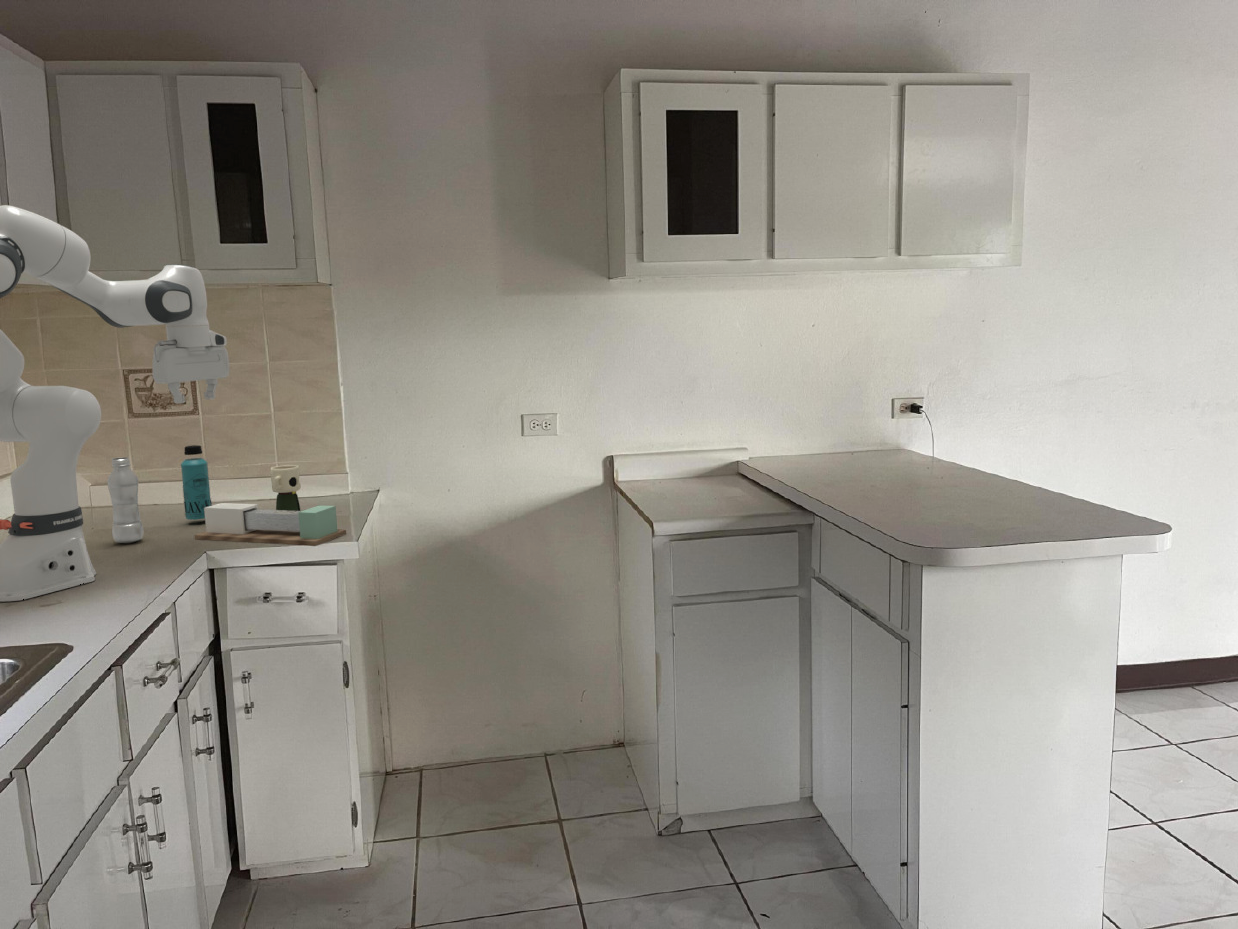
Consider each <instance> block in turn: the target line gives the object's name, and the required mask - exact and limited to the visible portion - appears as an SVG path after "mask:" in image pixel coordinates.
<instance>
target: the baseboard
mask: <svg viewBox="0 0 1238 929" xmlns="http://www.w3.org/2000/svg"><path fill="white" fill-rule="evenodd" d="M346 534H347V529H342V528H341V529H338V528H337V532H334V533H332V534H329V535H327V536H324V537H321V538H319V539H305V538H300V532H293V531H273V530H255V531H252V532H249V533H246V534H229V533H209V532H206V531H203V532H200V533H196V534H194V535H193V536H194V540H203V541H204V540H207V541H222V542H240V543H241V542H242V543H243V542H244V543H257V544H258V543H261V544H262V543H263V544H275V545H276V544H279V545H280V544H281V545H282V544H283V545H295V546H296V545H297V546H299V545H300V546H315V547H317V546H319V545H321V544H324V543H326V542H329V541H331V540H334V539H336V538H339V537H341V536H345V535H346Z"/></svg>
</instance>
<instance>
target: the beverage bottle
mask: <svg viewBox="0 0 1238 929" xmlns="http://www.w3.org/2000/svg"><path fill="white" fill-rule="evenodd" d="M202 449H203V448H202V446H201V445H197V444H195V445H194V444H193V445H186V446H185V447H184V451H183V452H184V455H185V456H193V455H195V456H197V455H201V454H203V450H202ZM208 464H209V463H208V461H207V460H205V459H204V458H203V457H195V458H193V457H191V458H186V459H184V460H183V461H182V462H181V463H180V466H181V467H180V468H181V480H182V496H183V504H184V505H183V506H184V516H185V519H186V520H190V521H191V520H194V521H195V520H205V512H204V508H205V507H209V506H212V498H211V489H210V487H211V486H210V481H211V480H210V478H209V468H208Z"/></svg>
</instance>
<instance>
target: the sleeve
mask: <svg viewBox="0 0 1238 929" xmlns="http://www.w3.org/2000/svg"><path fill="white" fill-rule="evenodd" d="M254 509H259V504H258V503H235V502H234V503H231V502H230V503H229V502H221V503H217V504H213V505H212V506H209V507H205V508H204V512H205V518H204V522H205V532H209V533H229V534H246V533H249V532H252V531H255V530H252V529H245V522H244V512H247V511H251V510H254Z"/></svg>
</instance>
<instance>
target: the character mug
mask: <svg viewBox="0 0 1238 929" xmlns="http://www.w3.org/2000/svg"><path fill="white" fill-rule="evenodd" d="M270 476H271V477H270V479H271V490H272V492H274V493H277V495H276V499H275V500H276V502H275V504H276V505H275V510H286V511H302V510H301V505H300V502H299V497H298V493H297V492H298V491H299V490H301V487H302V486H301V485H302V484H301V482H300V476H301V472H300V466H299V465H298V464H297V465H295V464H285V465H284V464H283V465H276V466H271V467H270Z"/></svg>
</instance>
